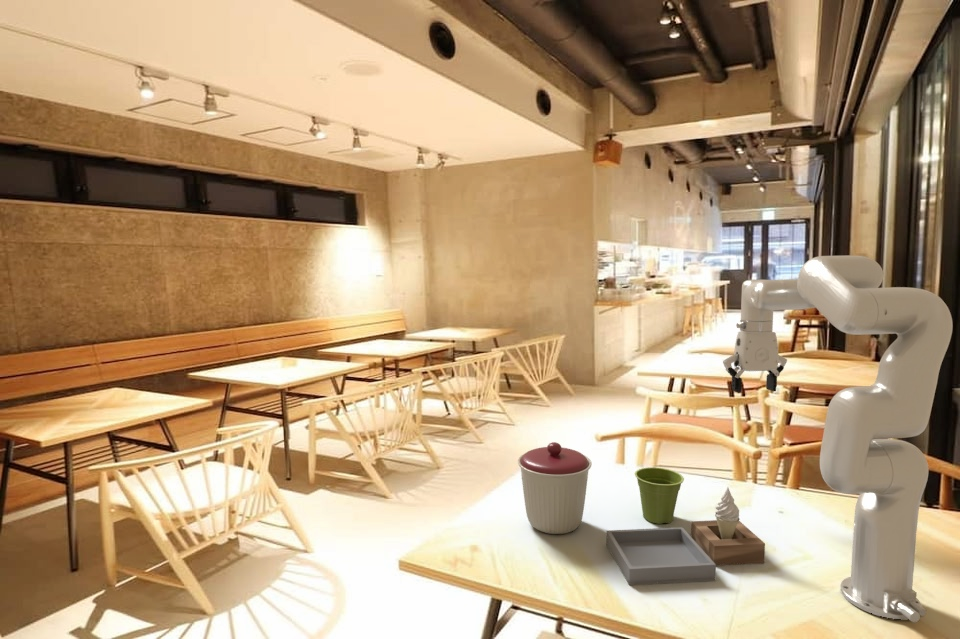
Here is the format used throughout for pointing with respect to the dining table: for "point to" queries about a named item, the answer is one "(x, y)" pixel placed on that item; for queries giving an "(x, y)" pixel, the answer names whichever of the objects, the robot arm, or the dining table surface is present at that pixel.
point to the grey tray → (659, 556)
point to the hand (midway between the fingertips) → (753, 391)
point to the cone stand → (728, 544)
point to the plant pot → (658, 493)
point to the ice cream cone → (727, 516)
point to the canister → (554, 487)
